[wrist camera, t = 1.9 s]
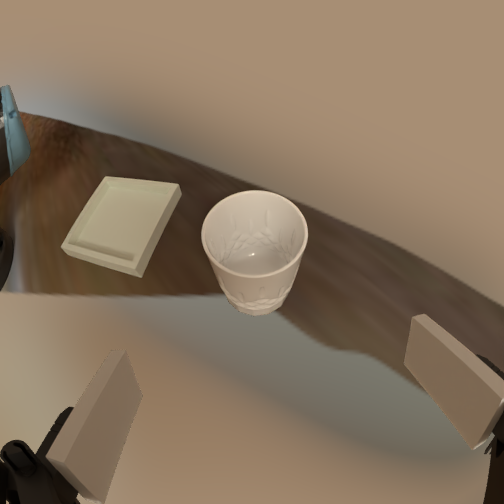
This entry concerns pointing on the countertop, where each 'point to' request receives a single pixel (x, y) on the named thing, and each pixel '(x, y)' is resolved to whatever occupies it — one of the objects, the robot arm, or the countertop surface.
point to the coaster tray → (122, 223)
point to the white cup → (255, 248)
